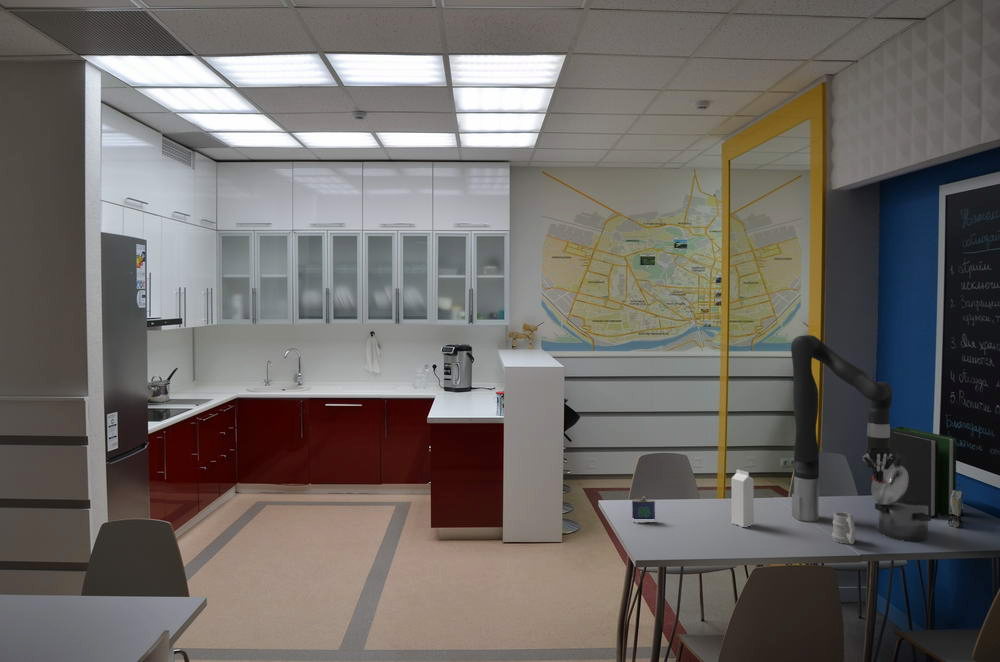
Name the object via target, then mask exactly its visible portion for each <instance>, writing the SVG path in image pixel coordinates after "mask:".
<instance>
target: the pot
mask: <svg viewBox="0 0 1000 662" xmlns="http://www.w3.org/2000/svg"><path fill="white" fill-rule="evenodd" d="M874 509H875V510H877V511H878V533H879V532H880V533H881V534H880V533H879V534H880V535H882V534H883V535H885V536H884V537H886V536H887V537H886V538H888V537H890V538H889V539H891V538H894V539H893V540H895V539H898V540H897V541H900V540H904V541H903V542H907V541H910V543H918V542H919V543H920V542H925V541H928V539H929V522H931V521H932V516H928V505H927V504H926V503H924V502H921V501H918V500H914V499H909V498H901V499H900V500H899V501H898V502H896V503H895V504H893V505H889V506H886V505H882V504H880V503H878V502H876V503H874ZM883 535H882V536H883ZM911 541H913V542H911Z"/></svg>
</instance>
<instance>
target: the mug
mask: <svg viewBox="0 0 1000 662" xmlns="http://www.w3.org/2000/svg"><path fill="white" fill-rule="evenodd" d="M832 525H833V527H832V533H831V537H832V541H834V540H835V541H837V542H836V543H838V542H842V543H850V544H849V545H854V543H855V541H856V531H855V530H856V528H855V522H854V514H853V513H849V512H845V511H842V512H841V511H840V512H839V511H838V512H834V514H833V520H832ZM835 541H834V542H835ZM842 543H841V544H842Z"/></svg>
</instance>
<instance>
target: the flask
mask: <svg viewBox="0 0 1000 662" xmlns="http://www.w3.org/2000/svg"><path fill="white" fill-rule="evenodd" d="M655 505H656V500H654V499H646V496H644V495H643V496H642V497H641V499H640V498H639V499H638V498H635V499H632V501H631V507H632V508H631V509H632V512H631V513H632V517H631V518H634V519H655V520H656V506H655Z"/></svg>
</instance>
